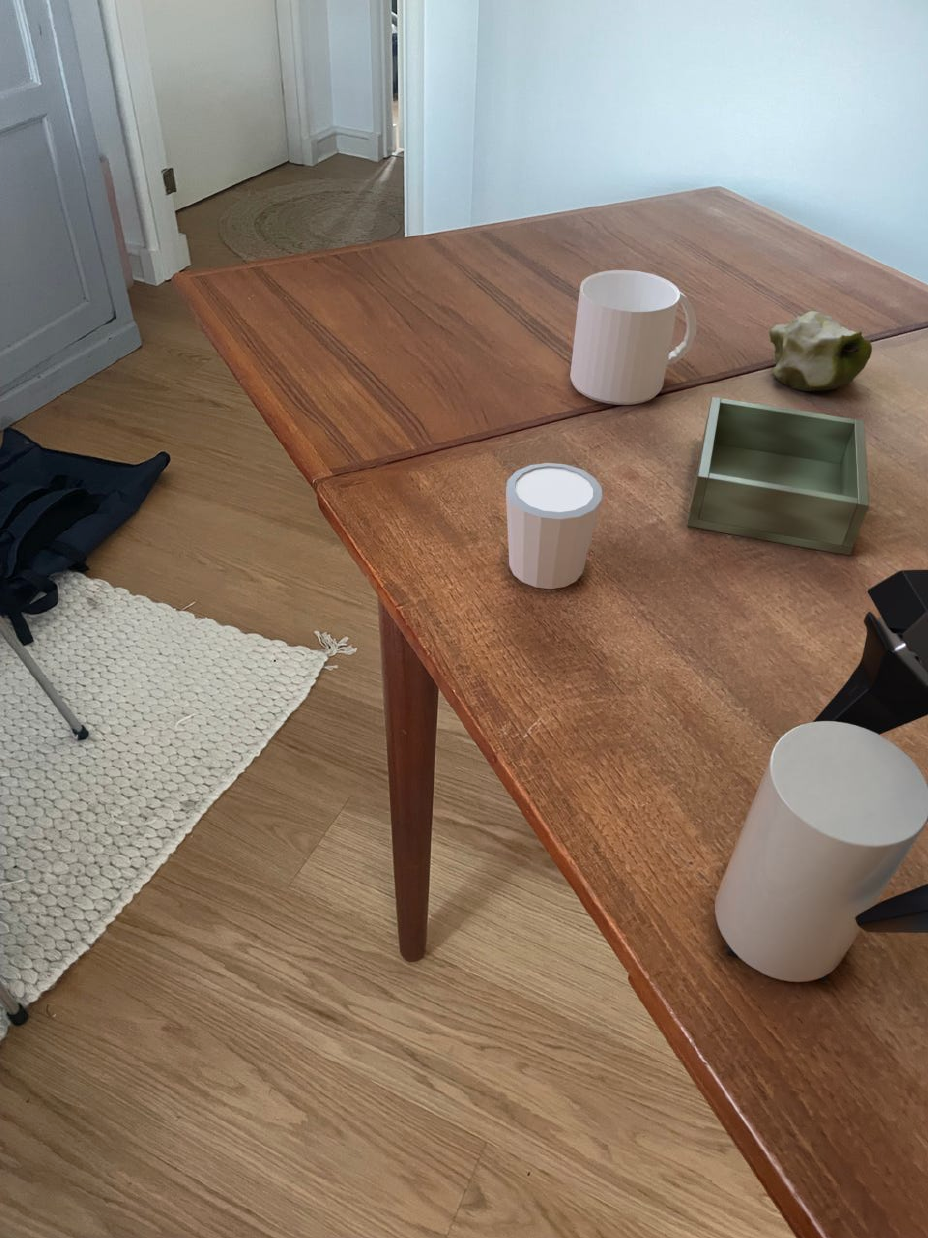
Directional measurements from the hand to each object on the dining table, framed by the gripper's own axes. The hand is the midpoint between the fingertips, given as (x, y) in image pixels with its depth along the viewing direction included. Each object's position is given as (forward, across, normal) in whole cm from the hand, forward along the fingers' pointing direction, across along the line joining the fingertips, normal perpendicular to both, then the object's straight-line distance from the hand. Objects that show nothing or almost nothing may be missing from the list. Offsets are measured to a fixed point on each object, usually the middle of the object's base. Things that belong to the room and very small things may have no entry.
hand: (824, 834), depth 44 cm
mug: (+4, -58, +8) cm, 58 cm away
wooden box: (-2, -38, +14) cm, 41 cm away
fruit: (-9, -58, +21) cm, 62 cm away
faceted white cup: (+12, -30, 0) cm, 32 cm away
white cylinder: (+6, 0, +5) cm, 8 cm away
